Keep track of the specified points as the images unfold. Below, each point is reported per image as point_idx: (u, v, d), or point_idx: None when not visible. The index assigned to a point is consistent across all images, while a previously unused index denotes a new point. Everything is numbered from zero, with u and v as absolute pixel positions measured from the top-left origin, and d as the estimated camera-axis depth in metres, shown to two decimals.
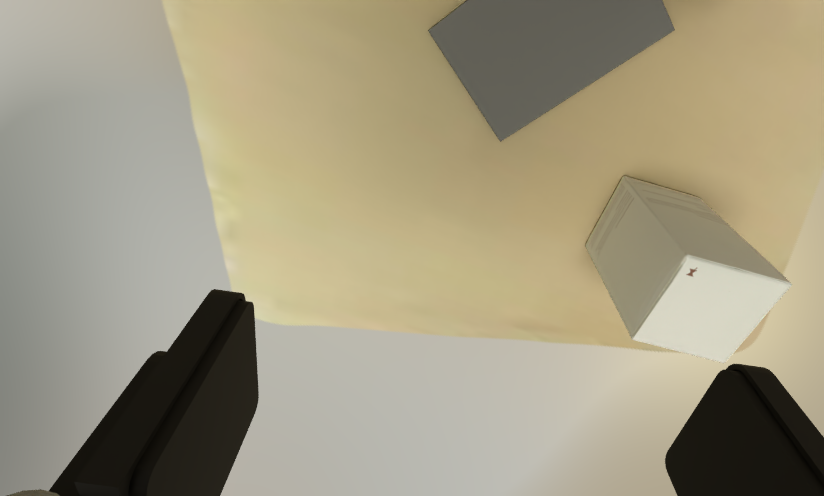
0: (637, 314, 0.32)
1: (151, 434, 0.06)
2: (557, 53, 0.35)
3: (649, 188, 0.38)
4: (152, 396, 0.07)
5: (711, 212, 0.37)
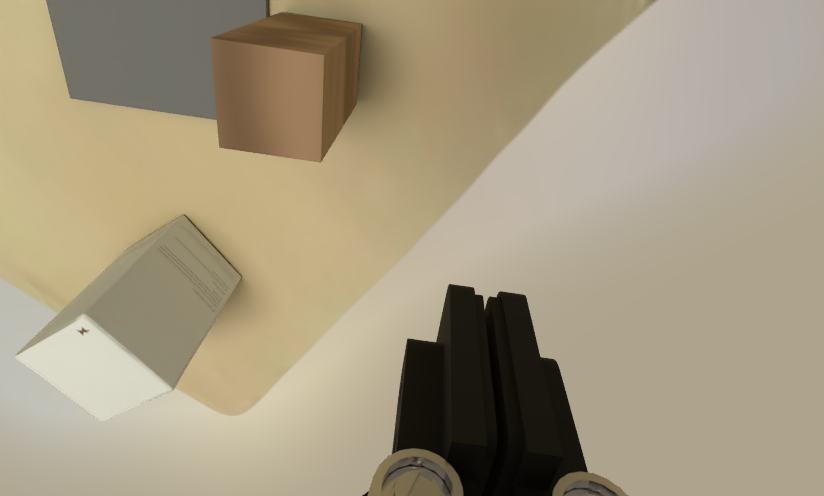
0: (36, 338, 0.30)
1: (483, 404, 0.07)
2: (159, 63, 0.32)
3: (187, 240, 0.37)
4: (463, 374, 0.08)
5: (222, 294, 0.38)
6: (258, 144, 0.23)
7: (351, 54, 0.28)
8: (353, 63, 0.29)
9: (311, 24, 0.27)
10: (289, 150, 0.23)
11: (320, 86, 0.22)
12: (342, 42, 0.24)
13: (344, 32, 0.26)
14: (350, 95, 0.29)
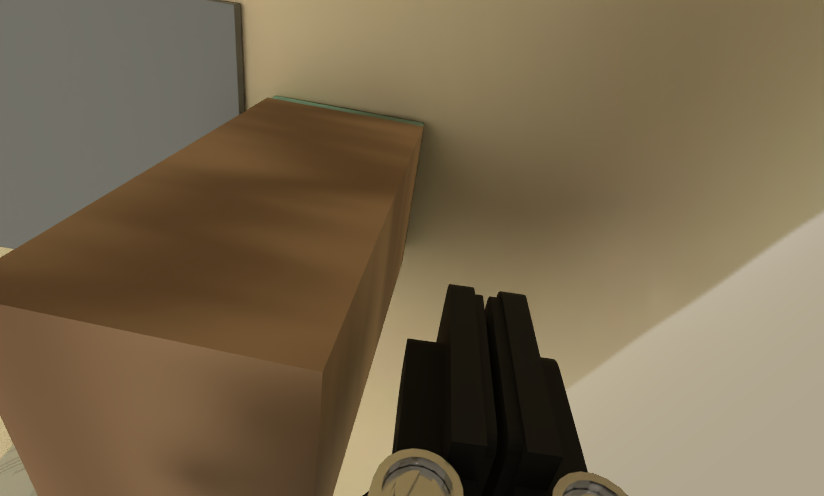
0: None
1: (484, 404, 0.07)
2: (41, 178, 0.17)
3: None
4: (463, 374, 0.08)
5: None
6: None
7: (402, 205, 0.13)
8: (404, 212, 0.14)
9: (319, 142, 0.12)
10: None
11: (309, 440, 0.07)
12: (385, 222, 0.10)
13: (390, 170, 0.12)
14: (394, 270, 0.15)
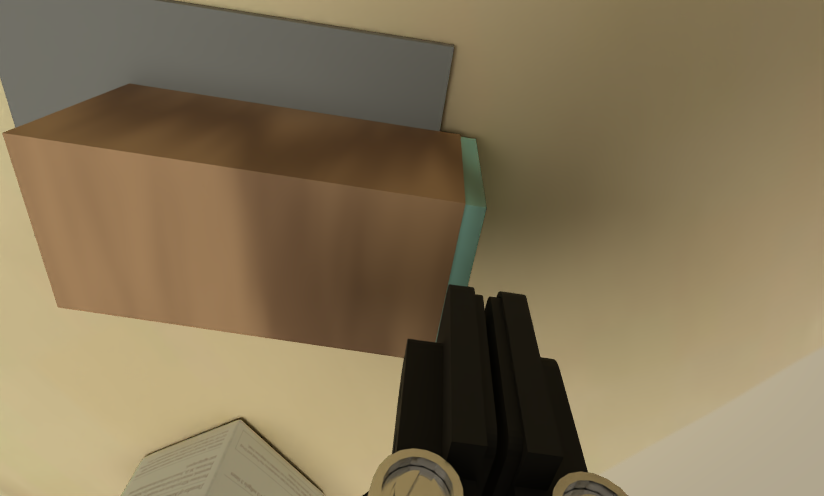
0: None
1: (483, 404, 0.07)
2: None
3: (250, 470, 0.23)
4: (463, 374, 0.08)
5: None
6: None
7: (324, 229, 0.11)
8: (359, 258, 0.12)
9: (354, 147, 0.13)
10: None
11: (24, 186, 0.12)
12: (192, 166, 0.11)
13: (297, 171, 0.11)
14: (342, 313, 0.13)
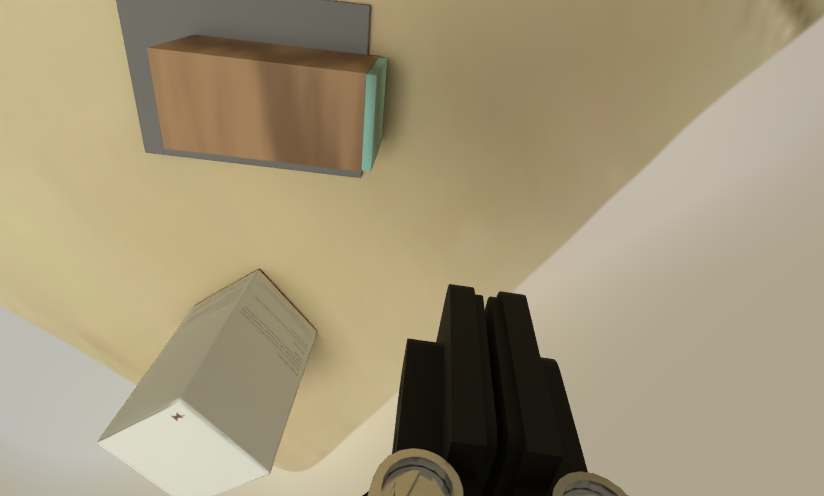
0: (120, 421, 0.27)
1: (483, 404, 0.07)
2: None
3: (266, 298, 0.35)
4: (463, 374, 0.08)
5: (302, 354, 0.35)
6: None
7: (300, 92, 0.23)
8: (318, 107, 0.24)
9: (316, 57, 0.25)
10: None
11: (153, 77, 0.24)
12: (235, 60, 0.23)
13: (286, 62, 0.23)
14: (312, 142, 0.25)
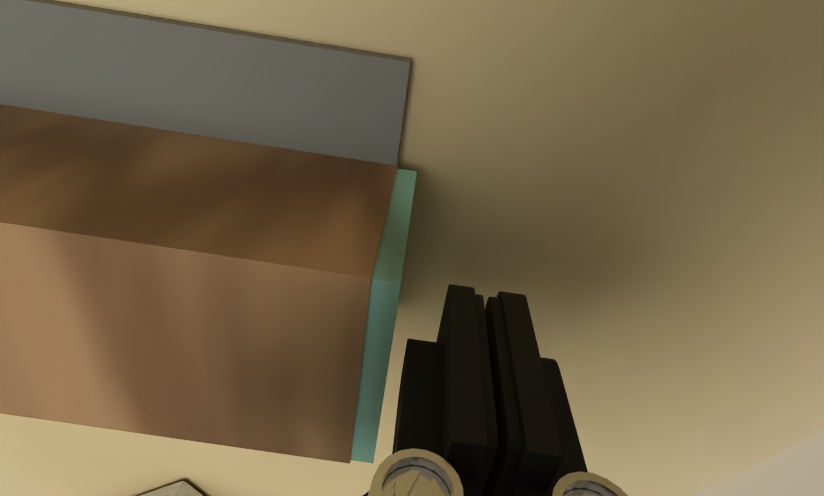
0: None
1: (484, 404, 0.07)
2: None
3: None
4: (463, 374, 0.08)
5: None
6: None
7: (187, 307, 0.08)
8: (238, 343, 0.09)
9: (245, 189, 0.10)
10: None
11: None
12: None
13: (143, 231, 0.08)
14: (227, 407, 0.10)
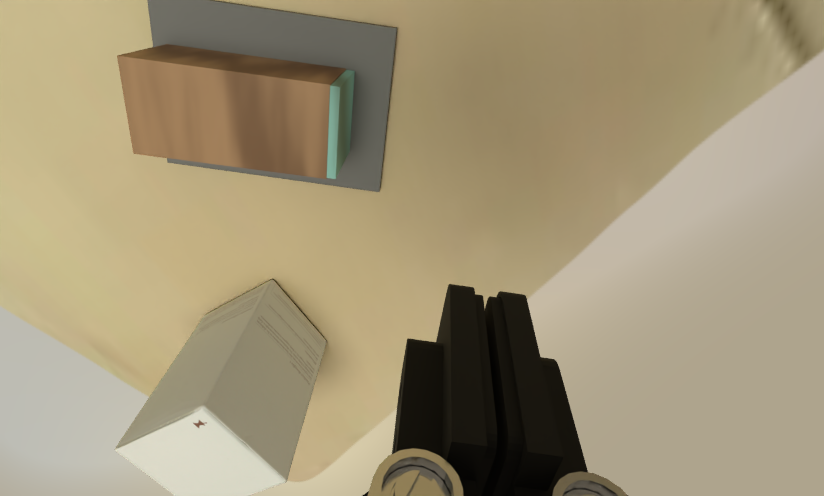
0: (138, 428, 0.28)
1: (484, 405, 0.07)
2: None
3: (280, 307, 0.35)
4: (463, 374, 0.08)
5: (314, 363, 0.36)
6: None
7: (266, 101, 0.24)
8: (284, 116, 0.25)
9: (284, 68, 0.26)
10: None
11: (123, 84, 0.24)
12: (203, 70, 0.24)
13: (253, 72, 0.24)
14: (278, 150, 0.26)
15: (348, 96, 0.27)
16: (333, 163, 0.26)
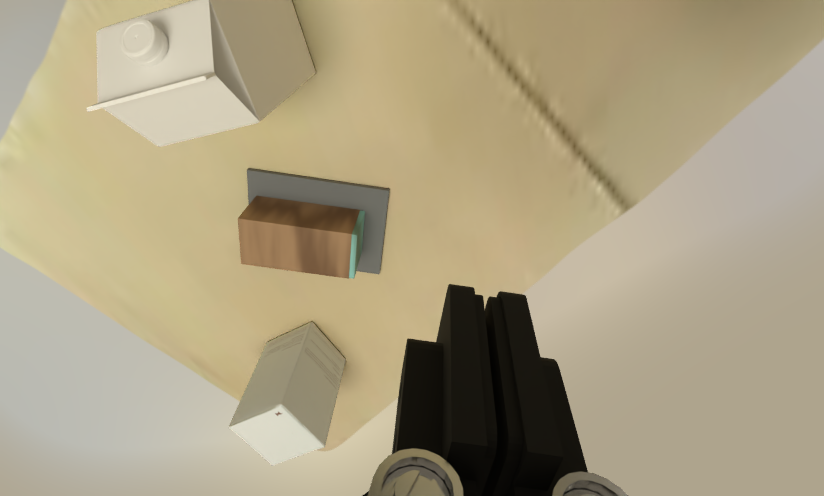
0: (241, 415, 0.49)
1: (483, 404, 0.07)
2: None
3: (317, 340, 0.56)
4: (463, 374, 0.08)
5: (338, 375, 0.57)
6: None
7: (317, 240, 0.45)
8: (326, 248, 0.45)
9: (325, 217, 0.46)
10: None
11: (239, 230, 0.45)
12: (284, 226, 0.44)
13: (310, 226, 0.44)
14: (322, 264, 0.46)
15: (361, 229, 0.47)
16: (352, 270, 0.46)
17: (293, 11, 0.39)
